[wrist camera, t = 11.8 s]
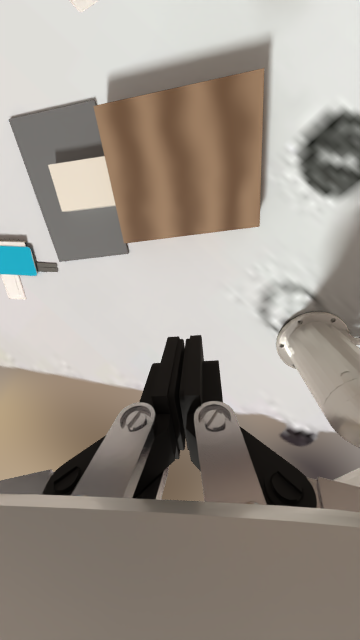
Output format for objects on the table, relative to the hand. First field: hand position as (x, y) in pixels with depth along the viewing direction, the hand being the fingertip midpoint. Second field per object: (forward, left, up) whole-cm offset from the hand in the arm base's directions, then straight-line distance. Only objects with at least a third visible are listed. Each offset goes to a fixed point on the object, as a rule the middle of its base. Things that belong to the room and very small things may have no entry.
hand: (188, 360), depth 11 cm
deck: (+1, -12, -29) cm, 31 cm away
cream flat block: (+16, -12, -29) cm, 35 cm away
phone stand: (+36, -2, -30) cm, 47 cm away
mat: (+19, -12, -29) cm, 37 cm away
